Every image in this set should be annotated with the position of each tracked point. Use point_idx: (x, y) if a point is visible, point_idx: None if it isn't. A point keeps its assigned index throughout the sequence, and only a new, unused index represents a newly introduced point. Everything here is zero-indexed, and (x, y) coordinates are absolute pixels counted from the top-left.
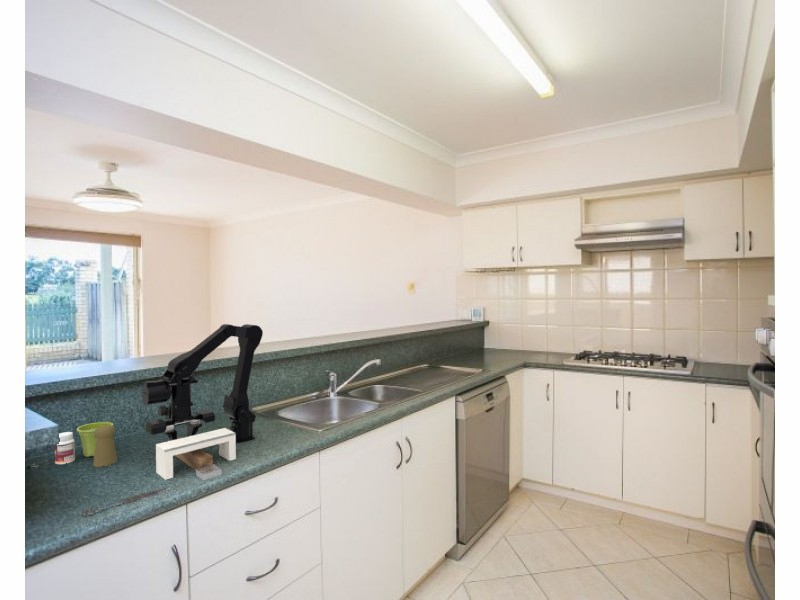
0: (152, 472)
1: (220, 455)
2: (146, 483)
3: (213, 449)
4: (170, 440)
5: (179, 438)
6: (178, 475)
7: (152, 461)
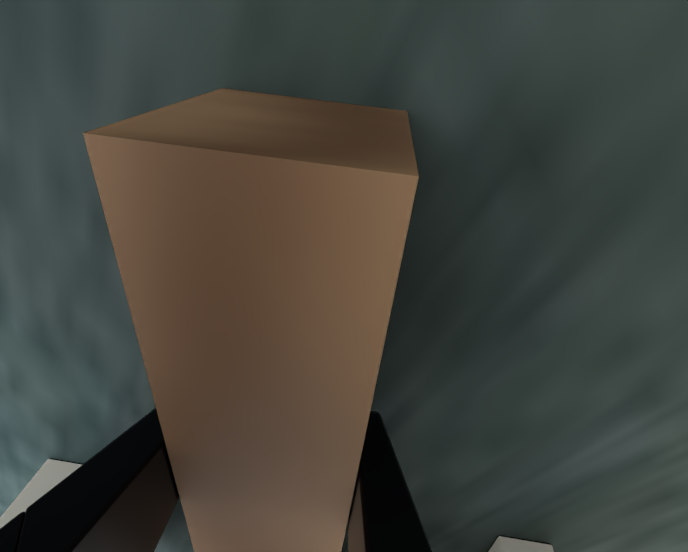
0: (24, 441)
1: (490, 550)
2: (2, 510)
3: (592, 447)
4: (37, 521)
5: (350, 272)
6: (160, 546)
7: (6, 262)
